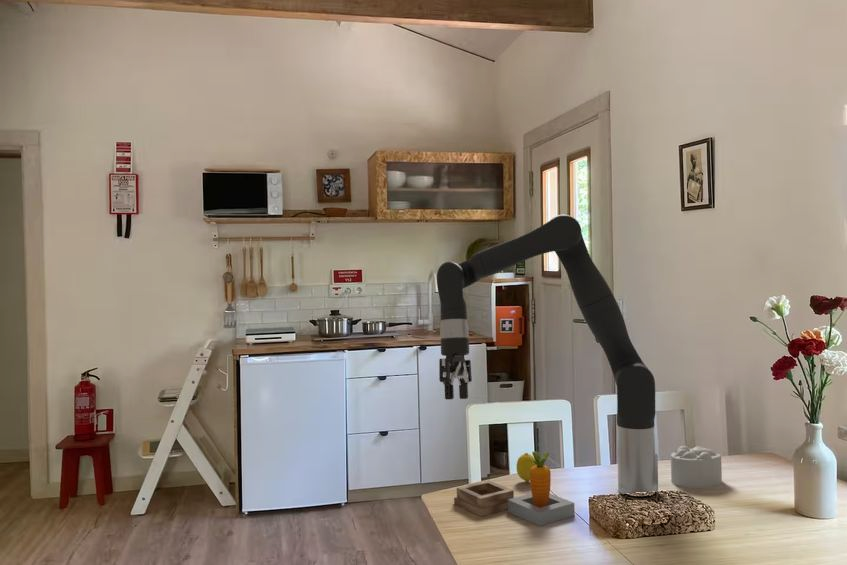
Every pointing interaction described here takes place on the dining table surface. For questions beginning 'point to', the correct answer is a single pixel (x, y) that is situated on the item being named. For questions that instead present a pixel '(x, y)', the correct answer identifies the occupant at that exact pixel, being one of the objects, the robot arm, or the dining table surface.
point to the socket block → (541, 509)
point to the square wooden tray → (483, 497)
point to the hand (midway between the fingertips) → (456, 399)
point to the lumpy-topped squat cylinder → (695, 467)
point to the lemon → (525, 466)
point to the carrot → (540, 480)
